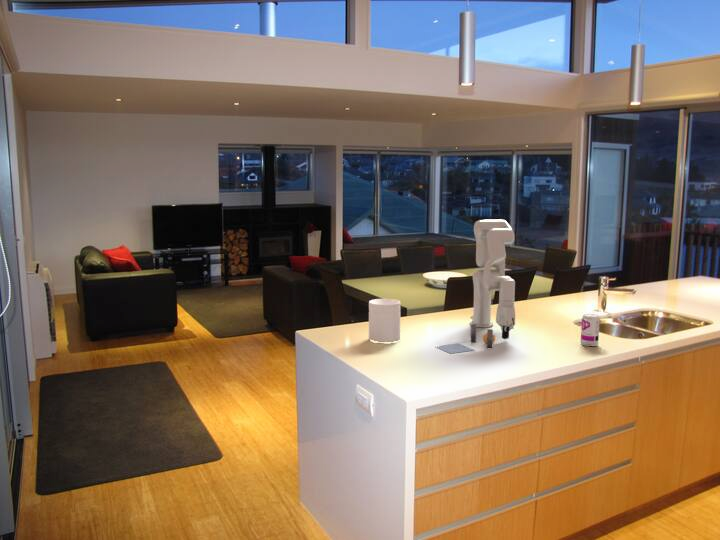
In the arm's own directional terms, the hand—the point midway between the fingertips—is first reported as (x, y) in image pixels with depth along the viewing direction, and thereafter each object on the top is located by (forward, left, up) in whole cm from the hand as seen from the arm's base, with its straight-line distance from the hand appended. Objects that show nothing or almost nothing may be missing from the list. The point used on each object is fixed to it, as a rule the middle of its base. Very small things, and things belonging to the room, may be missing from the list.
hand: (505, 338), depth 319 cm
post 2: (+6, -15, -2) cm, 16 cm away
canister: (-29, -54, -2) cm, 61 cm away
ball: (+1, -11, +2) cm, 11 cm away
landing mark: (0, -31, -2) cm, 31 cm away
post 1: (-7, -15, -2) cm, 16 cm away
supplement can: (+24, +33, -2) cm, 41 cm away
